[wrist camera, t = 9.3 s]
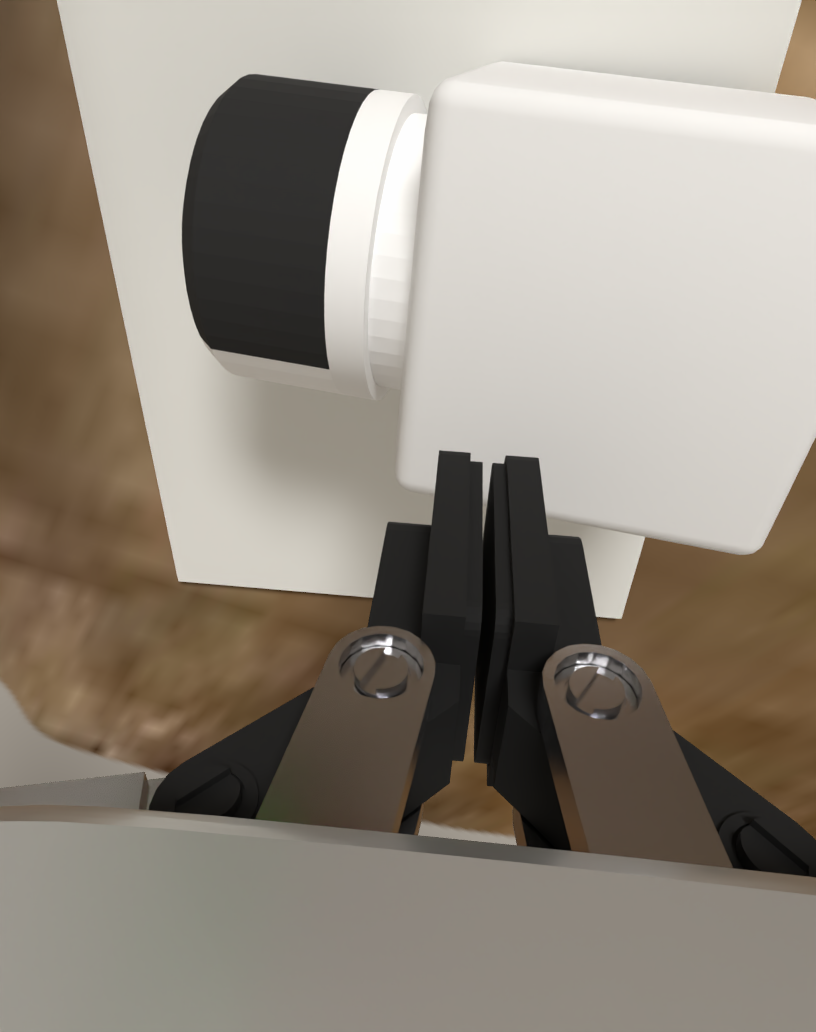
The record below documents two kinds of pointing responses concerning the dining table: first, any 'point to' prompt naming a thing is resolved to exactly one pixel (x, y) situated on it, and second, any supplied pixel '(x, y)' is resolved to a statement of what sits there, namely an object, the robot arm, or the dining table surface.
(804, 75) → the dining table surface
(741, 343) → the medicine bottle
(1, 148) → the dining table surface
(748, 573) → the dining table surface
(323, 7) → the mat
